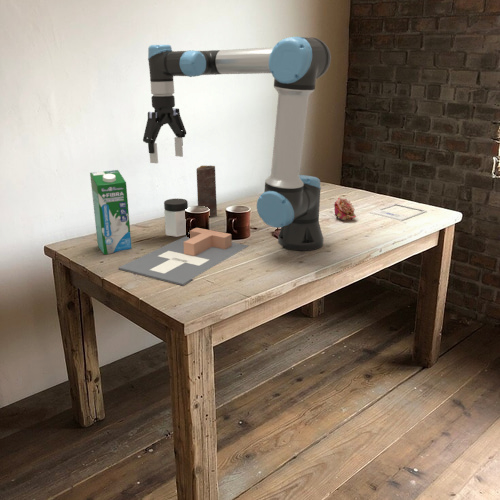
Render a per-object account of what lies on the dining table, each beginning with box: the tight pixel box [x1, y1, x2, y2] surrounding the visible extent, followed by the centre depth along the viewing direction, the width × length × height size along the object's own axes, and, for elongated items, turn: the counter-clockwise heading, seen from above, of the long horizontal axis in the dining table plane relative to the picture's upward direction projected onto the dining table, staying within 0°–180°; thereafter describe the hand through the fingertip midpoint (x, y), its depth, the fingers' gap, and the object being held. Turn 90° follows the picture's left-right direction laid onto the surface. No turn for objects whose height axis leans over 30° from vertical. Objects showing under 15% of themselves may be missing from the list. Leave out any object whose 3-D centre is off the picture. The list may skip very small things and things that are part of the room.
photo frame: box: [369, 203, 428, 222], centre depth 217 cm, size 15×1×18 cm
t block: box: [183, 227, 233, 256], centre depth 176 cm, size 14×14×4 cm
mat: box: [118, 235, 250, 287], centre depth 170 cm, size 24×36×1 cm, turn 150°
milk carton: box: [89, 169, 132, 255], centre depth 175 cm, size 9×9×25 cm
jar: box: [163, 198, 189, 237], centre depth 190 cm, size 9×8×12 cm
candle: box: [196, 165, 218, 218], centre depth 209 cm, size 8×7×20 cm
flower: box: [333, 197, 357, 223], centre depth 207 cm, size 10×9×8 cm
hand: (167, 159), depth 185 cm, fingers open, 13 cm apart
